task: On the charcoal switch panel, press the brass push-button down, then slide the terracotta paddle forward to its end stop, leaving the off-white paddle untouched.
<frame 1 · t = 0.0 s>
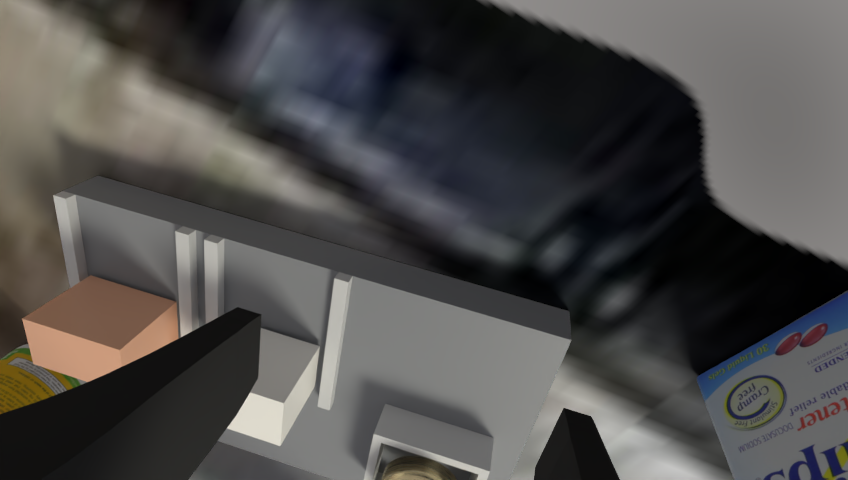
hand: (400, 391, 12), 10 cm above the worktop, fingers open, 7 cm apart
offwhite paddle: (253, 378, 21), point 4 cm above the worktop, slide at 0.0 cm
switch panel: (310, 349, 25), on the worktop
terracotta paddle: (107, 331, 22), point 4 cm above the worktop, slide at 0.0 cm
medicine box: (812, 355, 20), on the worktop
supplement bottle: (58, 373, 31), on the worktop
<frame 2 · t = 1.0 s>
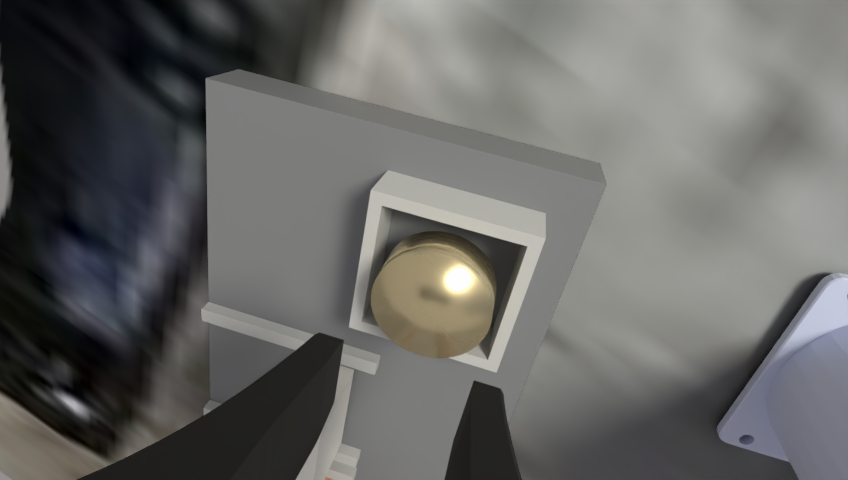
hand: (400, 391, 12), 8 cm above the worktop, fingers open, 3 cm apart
offwhite paddle: (302, 430, 20), point 4 cm above the worktop, slide at 0.0 cm
switch panel: (366, 356, 23), on the worktop
brass button: (435, 294, 15), point 4 cm above the worktop, slide at 0.0 cm
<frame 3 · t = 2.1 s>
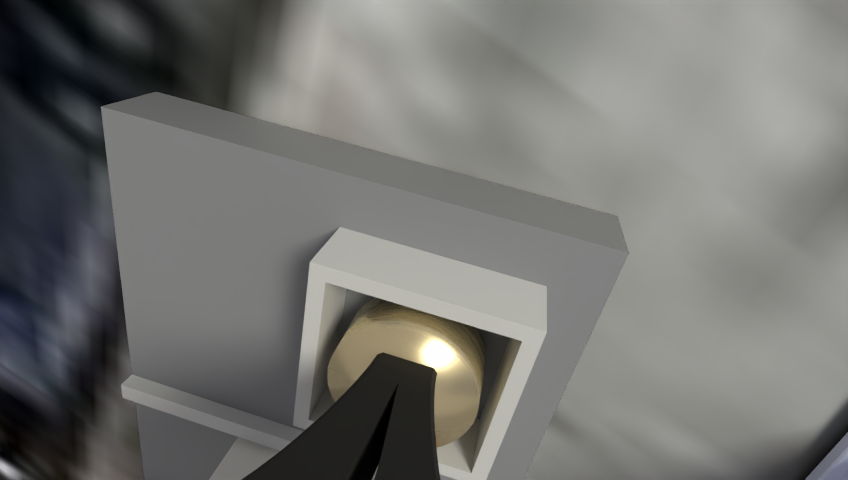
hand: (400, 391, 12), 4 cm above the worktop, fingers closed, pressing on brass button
switch panel: (331, 431, 19), on the worktop
brass button: (408, 370, 12), point 3 cm above the worktop, slide at 0.9 cm, touching gripper
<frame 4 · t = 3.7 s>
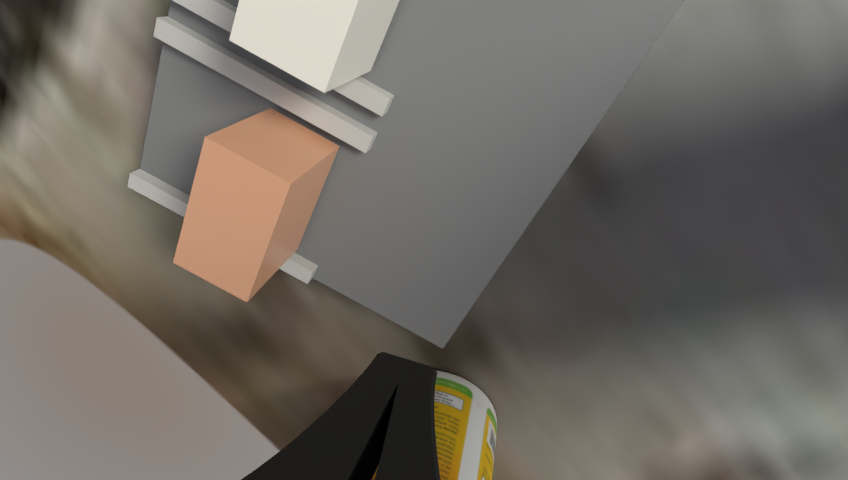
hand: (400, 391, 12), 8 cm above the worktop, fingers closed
terracotta paddle: (258, 202, 15), point 4 cm above the worktop, slide at 0.0 cm
supplement bottle: (440, 408, 23), on the worktop
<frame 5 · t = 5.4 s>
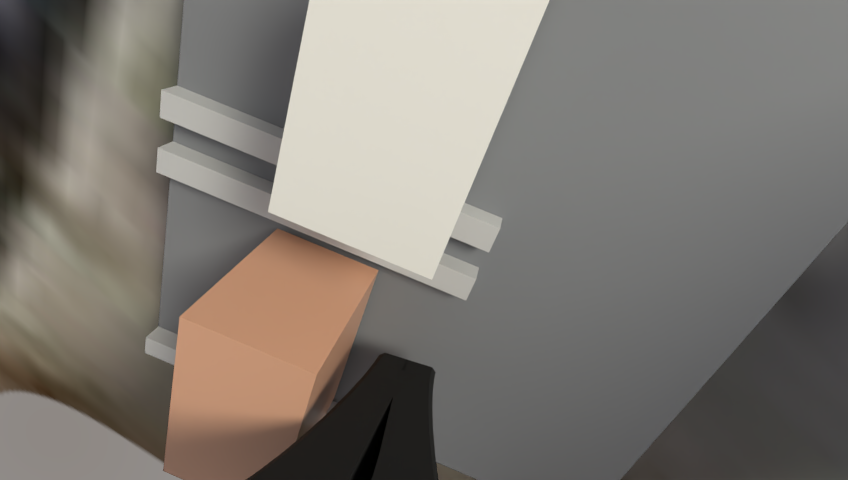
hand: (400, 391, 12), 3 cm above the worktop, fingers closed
offwhite paddle: (425, 73, 7), point 4 cm above the worktop, slide at 0.0 cm
switch panel: (536, 20, 10), on the worktop
terracotta paddle: (274, 366, 11), point 4 cm above the worktop, slide at 1.2 cm, touching gripper
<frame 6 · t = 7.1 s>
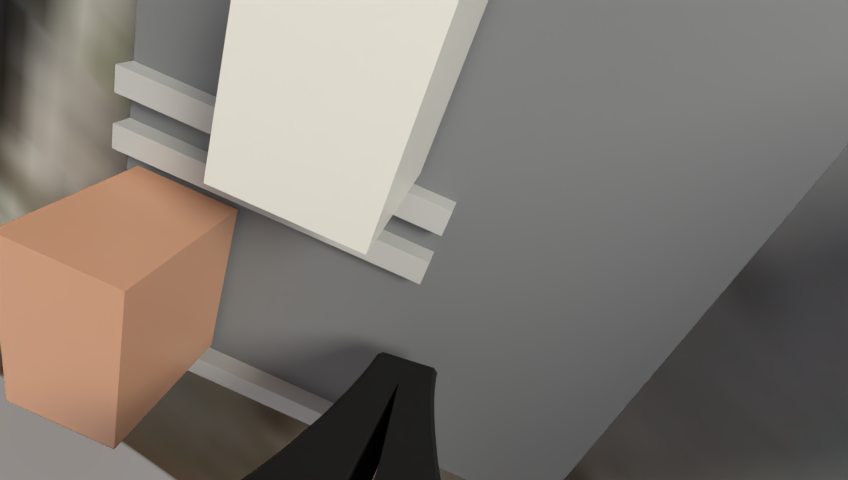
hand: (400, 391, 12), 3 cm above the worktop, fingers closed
offwhite paddle: (368, 50, 7), point 4 cm above the worktop, slide at 0.0 cm
switch panel: (495, 5, 10), on the worktop
terracotta paddle: (126, 301, 11), point 4 cm above the worktop, slide at 3.6 cm
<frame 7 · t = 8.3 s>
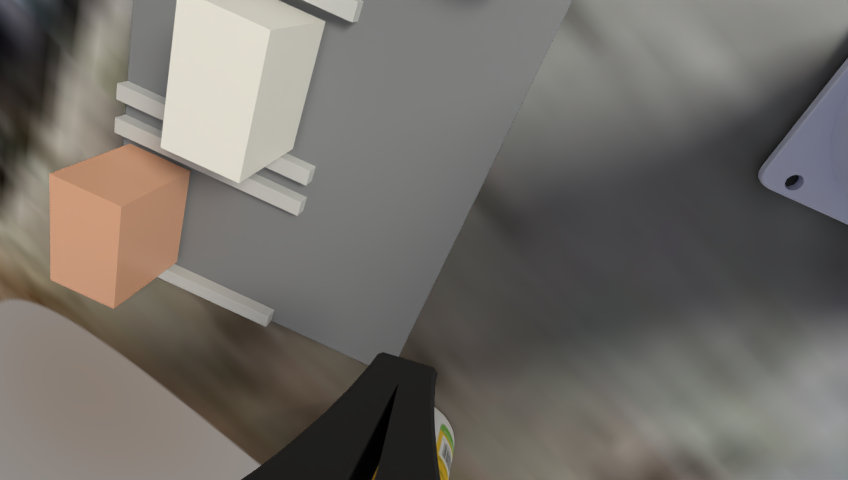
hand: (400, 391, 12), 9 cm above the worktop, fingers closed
offwhite paddle: (245, 82, 15), point 4 cm above the worktop, slide at 0.0 cm
switch panel: (340, 51, 18), on the worktop
terracotta paddle: (122, 224, 18), point 4 cm above the worktop, slide at 3.6 cm
supplement bottle: (405, 426, 26), on the worktop
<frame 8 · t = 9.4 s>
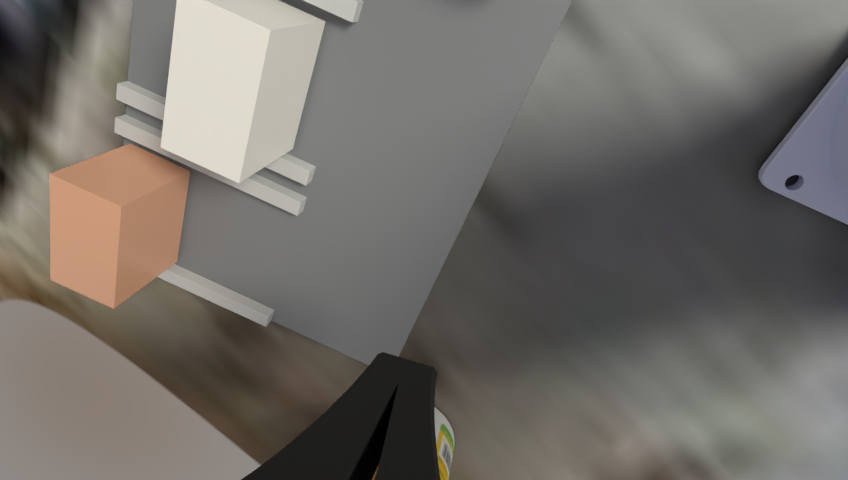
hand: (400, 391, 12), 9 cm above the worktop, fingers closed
offwhite paddle: (245, 82, 15), point 4 cm above the worktop, slide at 0.0 cm
switch panel: (340, 51, 18), on the worktop
terracotta paddle: (122, 224, 18), point 4 cm above the worktop, slide at 3.6 cm
supplement bottle: (405, 426, 26), on the worktop
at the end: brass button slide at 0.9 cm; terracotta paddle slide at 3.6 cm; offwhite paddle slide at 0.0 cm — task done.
